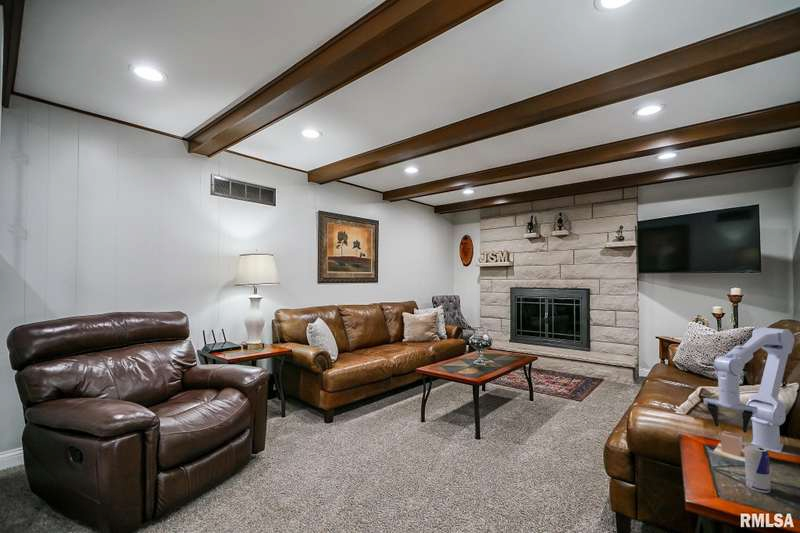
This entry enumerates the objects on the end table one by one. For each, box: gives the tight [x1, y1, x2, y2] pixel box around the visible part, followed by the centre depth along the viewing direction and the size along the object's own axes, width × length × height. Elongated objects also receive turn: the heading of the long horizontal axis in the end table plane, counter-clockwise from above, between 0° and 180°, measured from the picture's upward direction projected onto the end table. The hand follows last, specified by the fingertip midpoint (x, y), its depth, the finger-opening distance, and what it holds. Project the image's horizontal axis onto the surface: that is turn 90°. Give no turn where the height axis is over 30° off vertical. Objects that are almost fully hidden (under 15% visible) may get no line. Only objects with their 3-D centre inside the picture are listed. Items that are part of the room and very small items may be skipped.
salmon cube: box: [720, 430, 743, 456], centre depth 136 cm, size 5×5×6 cm
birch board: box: [711, 442, 745, 463], centre depth 136 cm, size 13×9×1 cm
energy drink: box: [743, 443, 772, 494], centre depth 113 cm, size 5×5×12 cm
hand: (730, 428), depth 136 cm, fingers open, 7 cm apart
